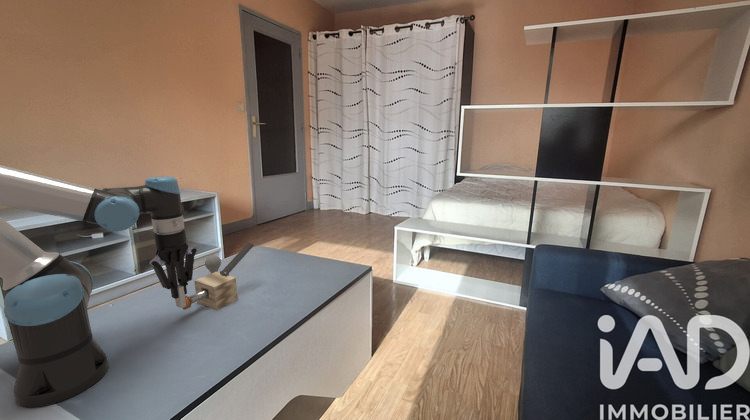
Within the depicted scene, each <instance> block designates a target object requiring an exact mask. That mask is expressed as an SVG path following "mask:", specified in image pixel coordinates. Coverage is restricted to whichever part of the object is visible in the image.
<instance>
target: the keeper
mask: <svg viewBox="0 0 750 420" xmlns="http://www.w3.org/2000/svg"><path fill="white" fill-rule="evenodd" d="M253 247H255V245H254V243H252V242H247V243H246V244H245V245H244V247H242V249H241V250H240V251H239V252H238V253H237V254H236V255H235V256H234V257H233V259H231V261H230V262H229V263H228V264H227V265H226V266H225V267H224V268H223V269H222V270H220V272H219V273H220V274H222V275H225V276H228V275H229V276H230V273H231V272H232V271H233V270H234V269H235V267H236V266H237V265H238V264H240V262H241V261H242V259H243V258H244V257H245V256H246V255H247V254H248V253H249V252H250V251H251V250H252V249H253Z"/></svg>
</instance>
